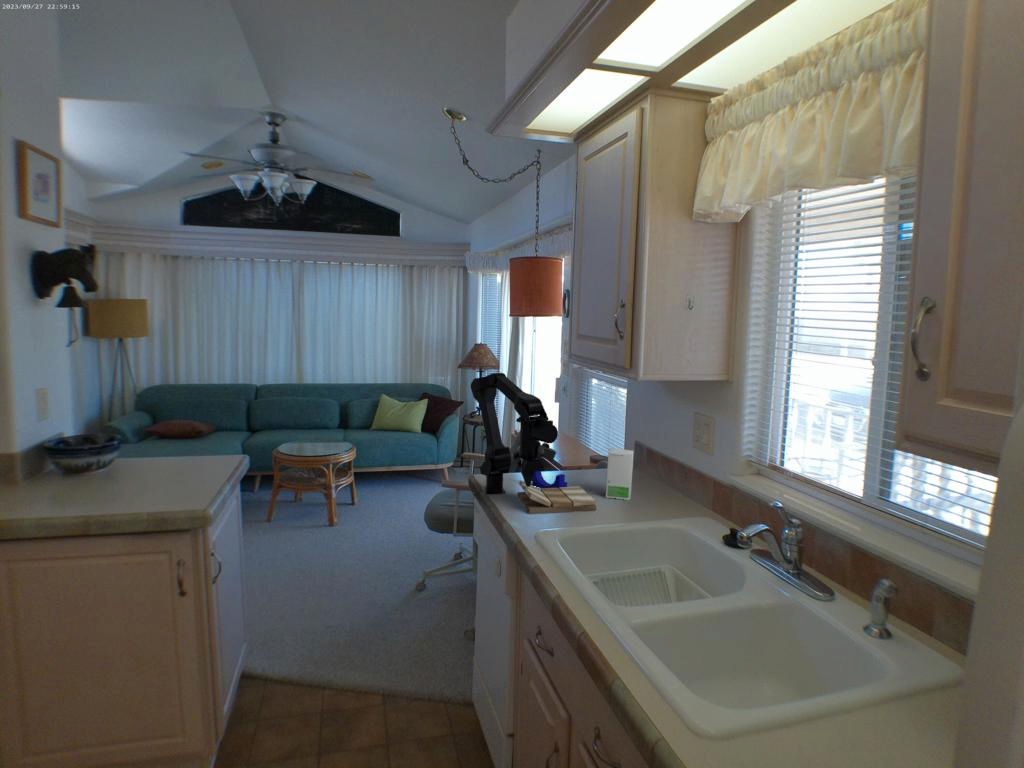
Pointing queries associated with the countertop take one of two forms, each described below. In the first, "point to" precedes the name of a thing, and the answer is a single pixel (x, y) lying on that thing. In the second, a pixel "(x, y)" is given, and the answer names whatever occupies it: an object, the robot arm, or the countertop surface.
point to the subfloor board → (540, 508)
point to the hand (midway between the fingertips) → (528, 486)
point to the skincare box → (619, 474)
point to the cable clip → (541, 483)
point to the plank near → (535, 494)
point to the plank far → (577, 496)
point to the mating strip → (556, 497)
